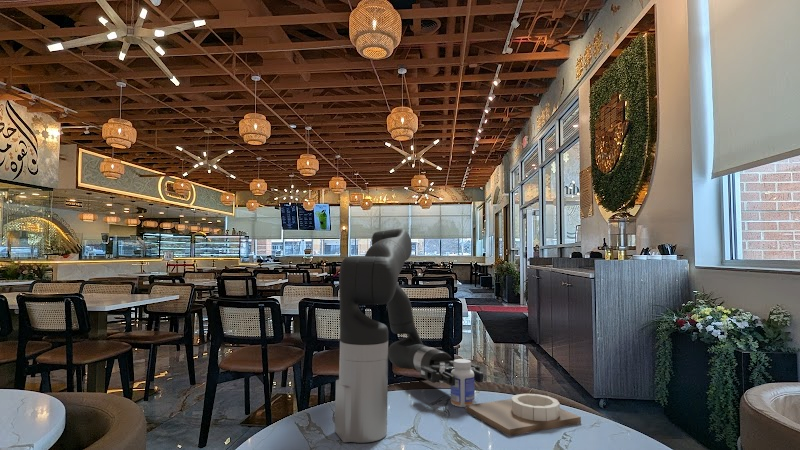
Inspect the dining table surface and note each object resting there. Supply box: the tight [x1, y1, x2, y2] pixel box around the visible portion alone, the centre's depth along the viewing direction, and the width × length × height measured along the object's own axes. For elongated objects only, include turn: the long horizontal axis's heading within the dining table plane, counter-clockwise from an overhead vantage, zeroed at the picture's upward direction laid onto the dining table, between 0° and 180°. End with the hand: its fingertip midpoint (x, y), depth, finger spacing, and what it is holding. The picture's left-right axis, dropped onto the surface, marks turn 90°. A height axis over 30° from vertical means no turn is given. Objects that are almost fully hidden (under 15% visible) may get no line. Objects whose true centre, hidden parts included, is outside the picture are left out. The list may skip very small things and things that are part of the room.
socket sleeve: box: [510, 393, 561, 421], centre depth 93 cm, size 9×9×2 cm
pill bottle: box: [450, 358, 476, 408], centre depth 103 cm, size 5×5×10 cm
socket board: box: [465, 398, 582, 437], centre depth 94 cm, size 18×15×1 cm
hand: (467, 379), depth 101 cm, fingers open, 7 cm apart
